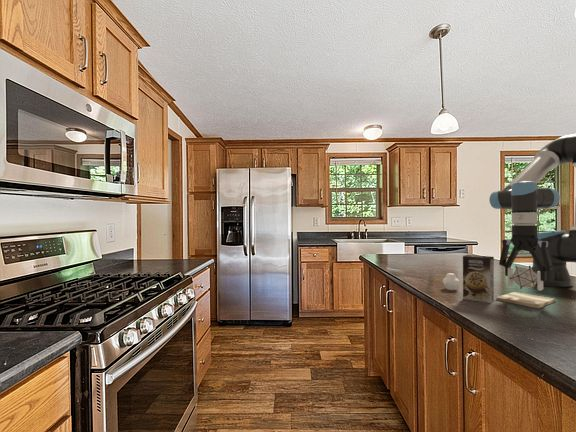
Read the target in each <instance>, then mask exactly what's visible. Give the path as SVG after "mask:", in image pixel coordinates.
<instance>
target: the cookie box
mask: <svg viewBox="0 0 576 432" xmlns="http://www.w3.org/2000/svg"><path fill="white" fill-rule="evenodd" d="M494 262H495V257H494V256H488V255H487V256H486V255H475V254H466V255H465V254H464V255H463V256H462V299H463V300H467V301H474V302H480V303H485V304H486V303H487V304H492V302H493V301H494V300H495V294H494V293H495V292H494V291H495V290H494V289H495V285H494V281H495V279H494V278H495V277H494V275H495V273H494V272H495V271H494V270H495V269H494V268H495V263H494Z"/></svg>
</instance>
